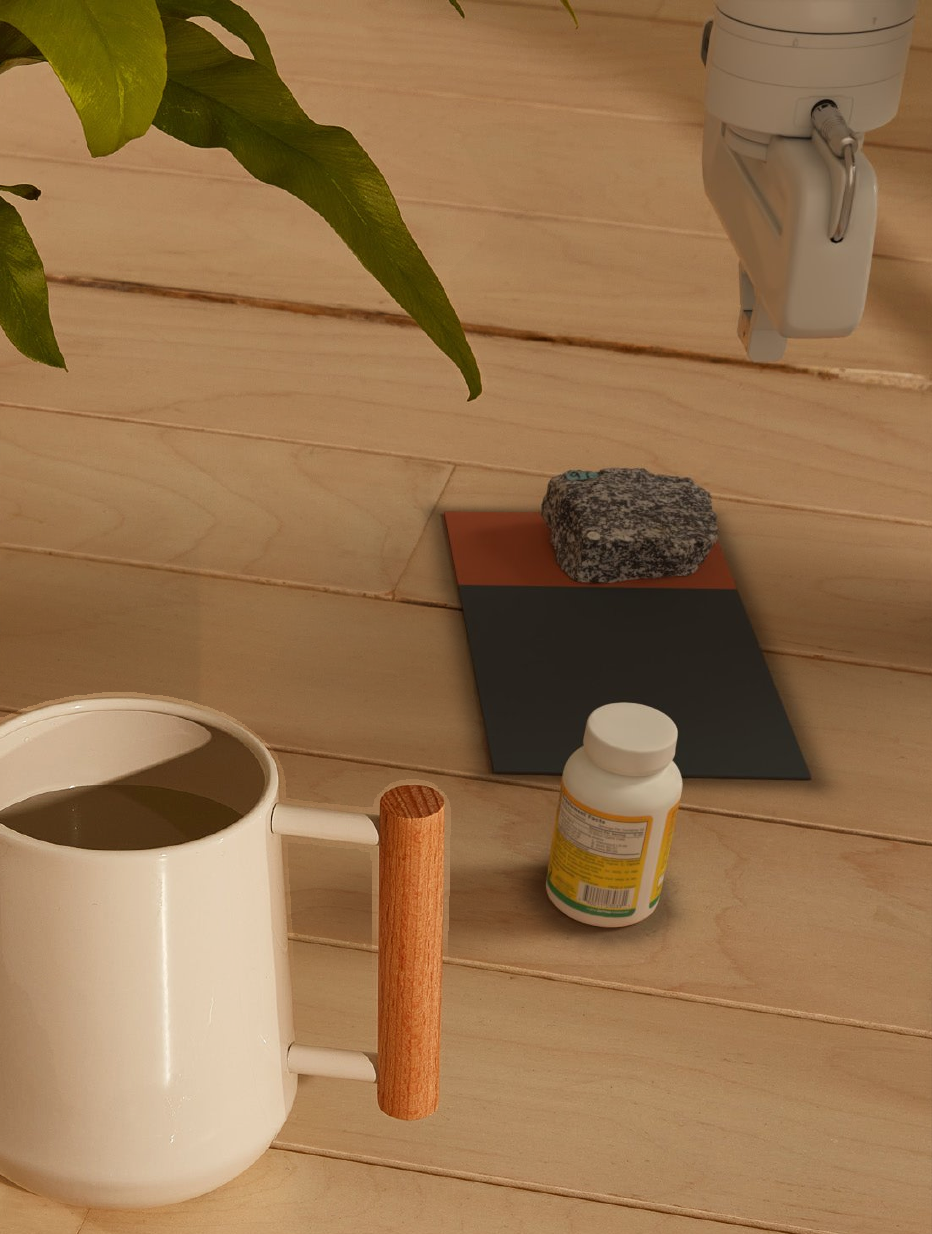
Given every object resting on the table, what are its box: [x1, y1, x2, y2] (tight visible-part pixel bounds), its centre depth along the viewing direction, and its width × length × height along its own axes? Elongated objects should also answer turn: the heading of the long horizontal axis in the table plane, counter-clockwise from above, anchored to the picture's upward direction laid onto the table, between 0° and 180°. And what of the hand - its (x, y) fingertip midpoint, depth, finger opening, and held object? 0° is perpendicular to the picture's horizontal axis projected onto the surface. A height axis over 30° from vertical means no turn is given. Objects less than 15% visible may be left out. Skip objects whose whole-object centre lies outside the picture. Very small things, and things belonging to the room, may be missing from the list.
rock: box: [540, 467, 719, 583], centre depth 127 cm, size 8×10×4 cm
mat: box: [443, 510, 812, 781], centre depth 121 cm, size 16×28×1 cm, turn 177°
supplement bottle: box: [545, 703, 683, 928], centre depth 99 cm, size 5×5×10 cm
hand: (759, 350), depth 109 cm, fingers closed
